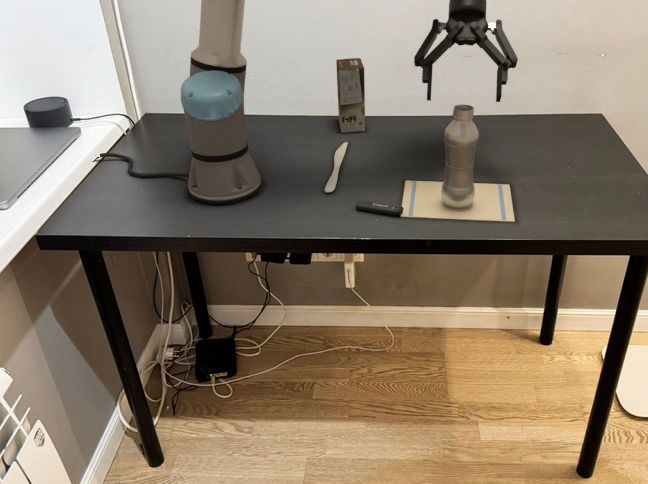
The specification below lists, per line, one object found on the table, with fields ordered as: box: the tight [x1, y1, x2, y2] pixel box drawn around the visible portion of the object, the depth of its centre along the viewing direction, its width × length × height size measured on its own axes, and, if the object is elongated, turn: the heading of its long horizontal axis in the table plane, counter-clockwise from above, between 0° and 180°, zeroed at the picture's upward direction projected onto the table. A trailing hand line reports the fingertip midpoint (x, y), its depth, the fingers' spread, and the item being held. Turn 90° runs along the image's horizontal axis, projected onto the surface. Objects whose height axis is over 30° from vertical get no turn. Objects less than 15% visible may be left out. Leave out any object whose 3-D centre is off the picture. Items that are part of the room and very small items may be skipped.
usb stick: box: [355, 199, 403, 216], centre depth 128 cm, size 10×3×2 cm, turn 69°
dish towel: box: [399, 180, 516, 223], centre depth 132 cm, size 22×16×1 cm
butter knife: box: [324, 141, 349, 194], centre depth 146 cm, size 1×27×3 cm
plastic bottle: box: [441, 104, 480, 208], centre depth 125 cm, size 6×7×20 cm
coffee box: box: [335, 57, 366, 134], centre depth 163 cm, size 9×6×16 cm
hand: (463, 98), depth 127 cm, fingers open, 13 cm apart
